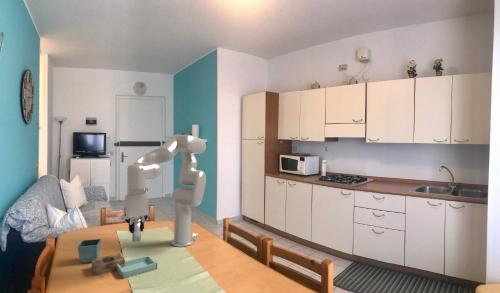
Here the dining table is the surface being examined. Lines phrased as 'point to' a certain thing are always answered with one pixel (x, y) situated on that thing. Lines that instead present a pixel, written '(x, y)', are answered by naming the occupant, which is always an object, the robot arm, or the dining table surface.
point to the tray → (137, 266)
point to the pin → (136, 229)
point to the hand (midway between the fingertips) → (136, 231)
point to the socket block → (107, 264)
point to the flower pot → (89, 250)
